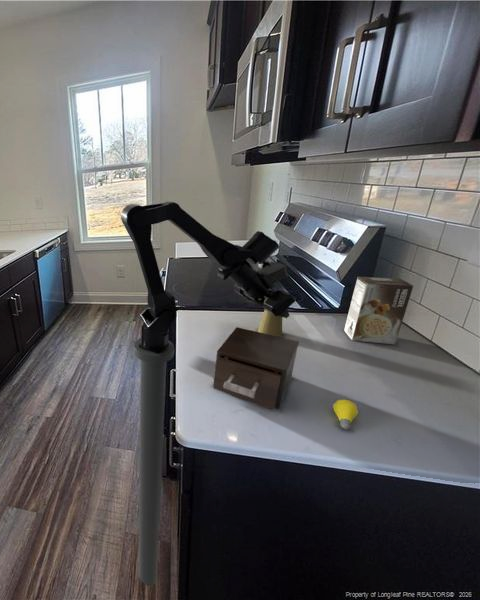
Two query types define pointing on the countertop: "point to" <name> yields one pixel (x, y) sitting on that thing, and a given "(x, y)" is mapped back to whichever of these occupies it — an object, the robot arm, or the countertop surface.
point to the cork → (271, 324)
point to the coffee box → (377, 309)
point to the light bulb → (345, 412)
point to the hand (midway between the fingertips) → (278, 311)
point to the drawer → (247, 381)
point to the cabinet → (262, 354)
